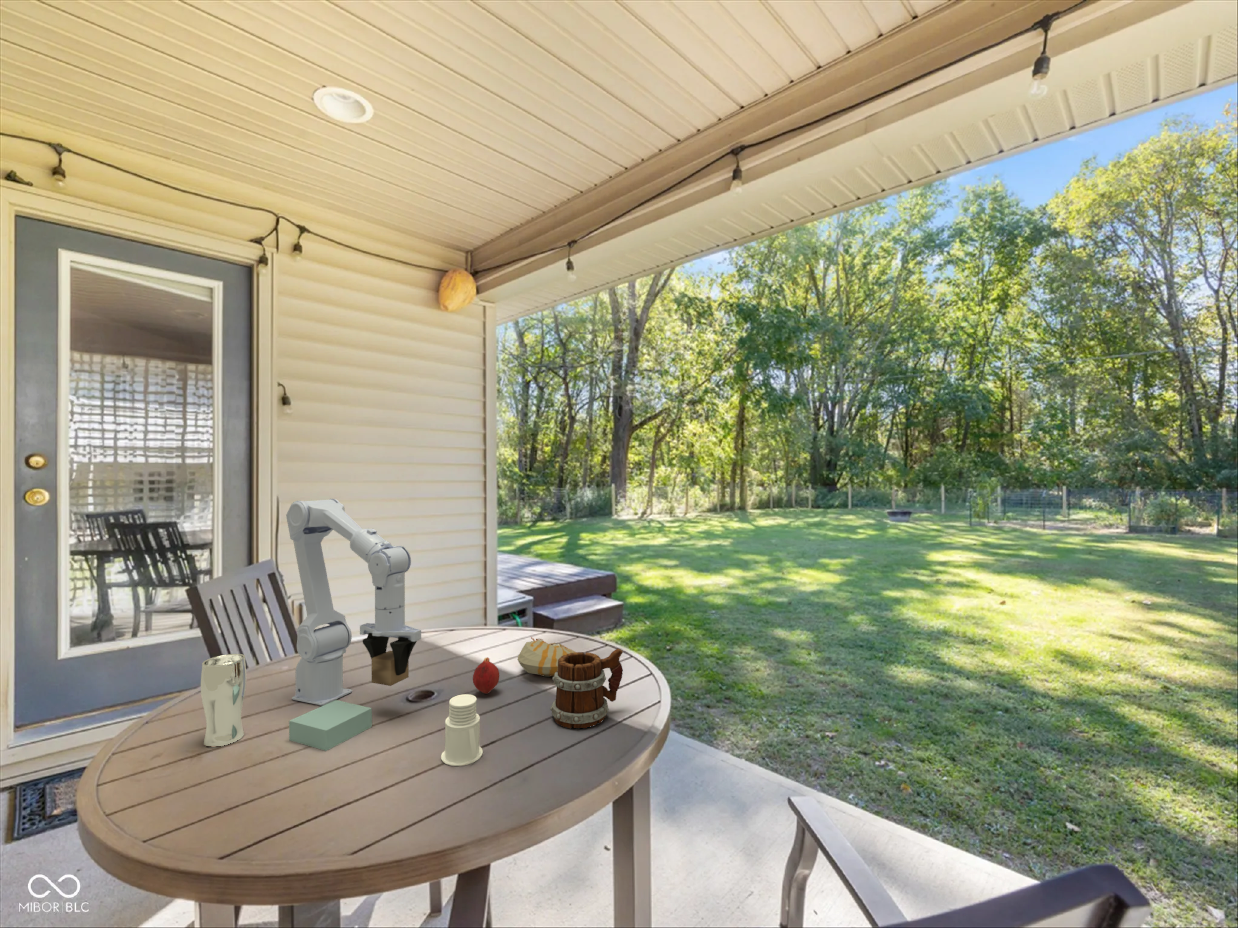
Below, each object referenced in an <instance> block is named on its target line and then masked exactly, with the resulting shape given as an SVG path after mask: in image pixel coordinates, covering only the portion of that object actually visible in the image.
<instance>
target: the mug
mask: <svg viewBox="0 0 1238 928" xmlns="http://www.w3.org/2000/svg"><path fill="white" fill-rule="evenodd" d="M622 655H623V650H622V649H620V648H616V649H614V650H613V651H611V653H609V655H608V656H606V657H605V658H601V657H600V656H599V655H598V654H595V653H593V652H587V651H586V652H585V653H584V651H577V652H576V651H575V653H569V654H567V655H563V656H561V657H560V658H559V659H558V670H557V671H556V673H555V675H554V676H552V681H553V684H554V685H555V686H556V693H555V699H554V701H553V702H552V704H551V706H550V707H549V711H551V716H553V720H554V719H555V720H554V722H555V723H556V725H558V724H559V725H558V726H560V725H561V727H562V726H563V727H562V728H565V727H567V728H566V729H570V728H571V729H572V728H573V729H574V728H585V729H588V728H587V727H590V726H593V725H596V724H597V723H600V722H601V721H602V720H604V721H605V719H606V717H607V713H608V712H609V709H610V708H609V704H608V701H610V702H613V703H614V701H616V699H617V692H618V690H619V688H620V685H621V682H622V680H623V675H624V674H623V672H624V669H623V665H622V663H621V662H620V657H621V656H622ZM605 669H609V670H610V674H611V675H610V677H609V678H608V679H607V677H606V673H605ZM606 680H607V682H608V688H607V687H606V686H604V683H605V682H606ZM607 699H608V700H607ZM605 716H606V717H605ZM604 718H605V719H604ZM601 723H602V722H601ZM601 723H600V724H601ZM597 725H598V724H597ZM597 725H596V726H597Z"/></svg>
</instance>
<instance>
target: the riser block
mask: <svg viewBox="0 0 1238 928" xmlns="http://www.w3.org/2000/svg"><path fill="white" fill-rule="evenodd" d="M372 713H373V709H372V707H369V706H364V705H359V704H355V703H352V702H346V701H342V700H338V699H336V700H334V701H331V702H329V703H327V704H325V705H320V706H319V707H317V708H315V709H313V710H310V711H308V712H306V713H303V714H301V715H299V716H297V717H294V718H291V719H290V720H289V721H288V739H289V742H290V741H291V742H294V743H298V744H302V745H305V746H308V747H310V748H315V749H318V750H322V751H325V752H328V751H329V750H330V749H333V748H335V747H337V746H338V745H340V744H342V743H344V742H346V741H348V740H350V739H352V738H353V737H355V736H357V735H359V734H361V733H363V732H364V731H367V730H368V729H370V728H372V727H373V719H372V718H373V714H372Z"/></svg>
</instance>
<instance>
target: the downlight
mask: <svg viewBox="0 0 1238 928" xmlns="http://www.w3.org/2000/svg"><path fill="white" fill-rule="evenodd" d="M477 700H478V699H477V697H476V696H475V695H473V694H470V693H469V694H468V693H466V694H465V693H464V694H458V695H456V696H453V697H452V698H450V699H449V704H448V705H449V707H448V712H449V713H448V716H447V718H445V721H444V726H445V727H444V728H445V729H444V731H445V732H444V751H442V752H441V756H440V759H441V761H442V763H443V764H446V765H447V766H451V767H462V766H467V765H471V764H473V763H475V762H478V761H479V760H480V759H481V757H482V756H483V748H482V747H481V746H480V732H481V731H480V729H481V727H480V725H481V724H480V723H481V722H480V719H481V718H480V714H478V713H477Z"/></svg>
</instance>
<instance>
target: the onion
mask: <svg viewBox="0 0 1238 928" xmlns="http://www.w3.org/2000/svg"><path fill="white" fill-rule="evenodd" d="M490 660H491V658H489V657H484V659H483V661H482V662H481V663H480V664H479V665H477V666H476V668H475V670H474V672H473V674H472V683H473V685H474V688H475V689H477V690H478V691H479V692H481V693H483V694H484V695H487V694H489V693H490V692H491V691H492V690H494V689H495V688H496V687H497V685H498V684H499V681H500V671H499V668H498V667H497V666H496V664H494V663H493V662H491V661H490Z"/></svg>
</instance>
